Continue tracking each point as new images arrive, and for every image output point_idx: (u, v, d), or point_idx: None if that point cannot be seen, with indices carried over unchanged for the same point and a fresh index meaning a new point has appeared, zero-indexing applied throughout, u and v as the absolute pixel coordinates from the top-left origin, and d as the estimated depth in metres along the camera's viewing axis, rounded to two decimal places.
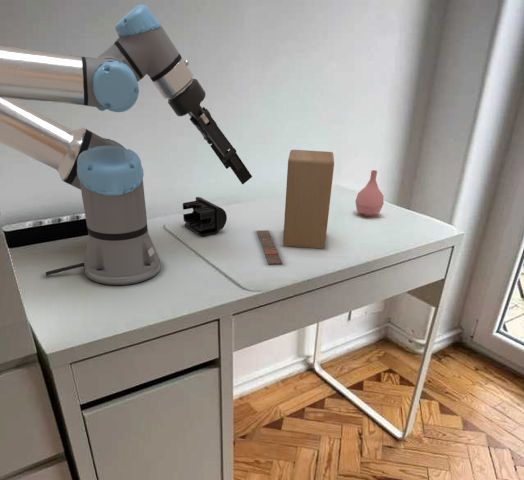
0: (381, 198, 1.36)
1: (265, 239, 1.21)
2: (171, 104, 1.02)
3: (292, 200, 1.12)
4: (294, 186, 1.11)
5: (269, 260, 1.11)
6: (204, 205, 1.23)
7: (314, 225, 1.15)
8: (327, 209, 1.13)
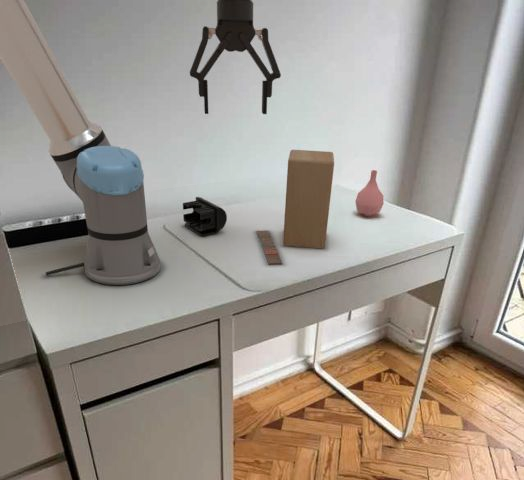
0: (381, 198, 1.36)
1: (265, 239, 1.21)
2: (243, 3, 1.00)
3: (292, 199, 1.12)
4: (294, 185, 1.11)
5: (269, 260, 1.11)
6: (204, 205, 1.23)
7: (314, 225, 1.15)
8: (327, 209, 1.13)
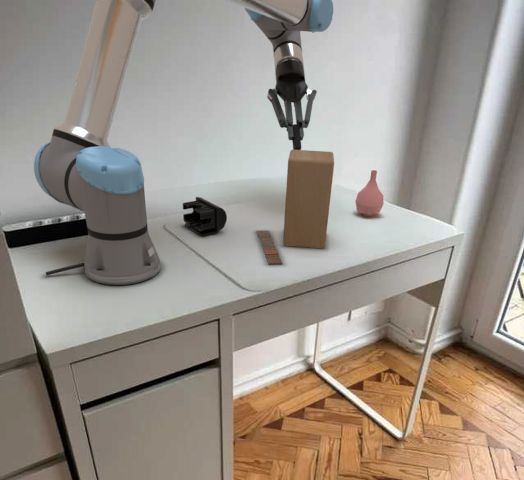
0: (381, 198, 1.36)
1: (265, 239, 1.21)
2: (297, 61, 1.27)
3: (292, 199, 1.12)
4: (294, 185, 1.11)
5: (269, 260, 1.11)
6: (204, 205, 1.23)
7: (314, 225, 1.15)
8: (327, 209, 1.13)
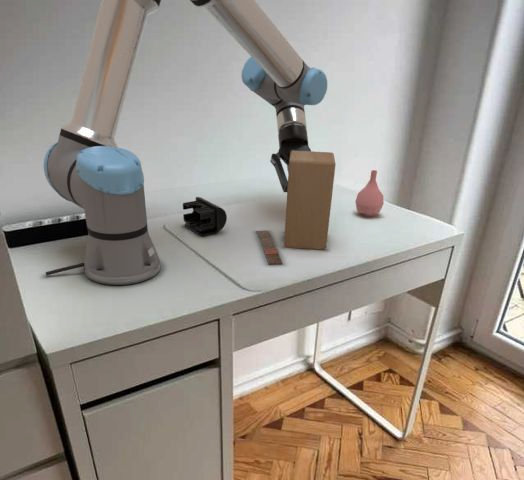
0: (381, 198, 1.36)
1: (265, 239, 1.21)
2: (300, 126, 1.26)
3: (293, 201, 1.12)
4: (296, 187, 1.10)
5: (269, 260, 1.11)
6: (204, 205, 1.23)
7: (316, 226, 1.15)
8: (328, 210, 1.12)
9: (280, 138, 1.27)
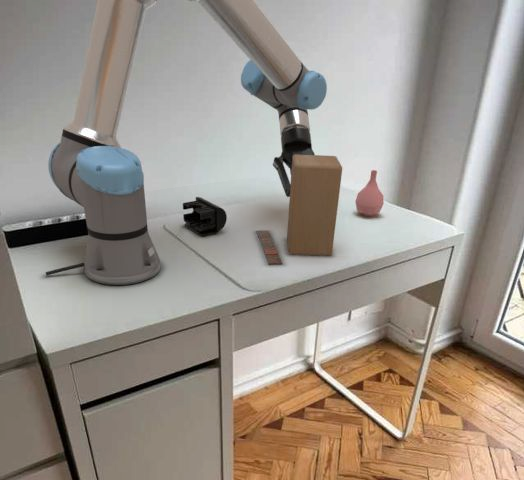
0: (381, 198, 1.36)
1: (265, 239, 1.21)
2: (304, 129, 1.23)
3: (298, 207, 1.08)
4: (301, 192, 1.07)
5: (269, 260, 1.11)
6: (204, 205, 1.23)
7: (322, 232, 1.12)
8: (335, 215, 1.10)
9: (283, 141, 1.24)
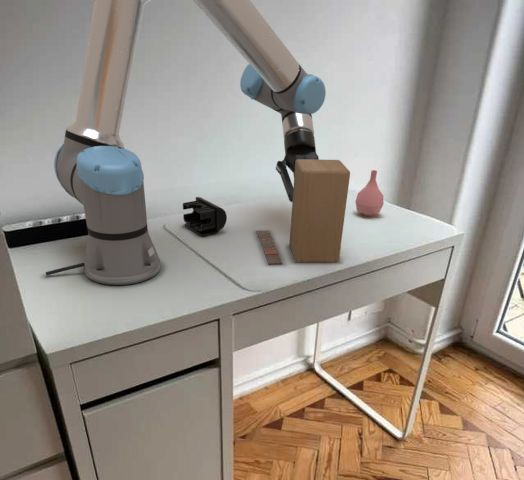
0: (381, 198, 1.36)
1: (265, 239, 1.21)
2: (307, 132, 1.19)
3: (305, 213, 1.05)
4: (309, 198, 1.03)
5: (269, 260, 1.11)
6: (204, 205, 1.23)
7: (329, 238, 1.08)
8: (342, 221, 1.07)
9: (286, 144, 1.21)
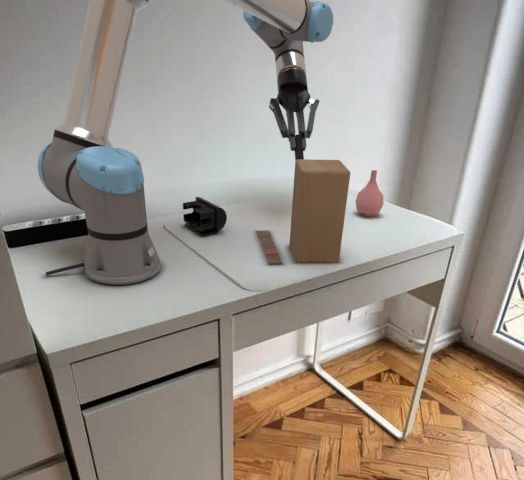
0: (381, 198, 1.36)
1: (265, 239, 1.21)
2: (300, 70, 1.24)
3: (306, 213, 1.05)
4: (309, 198, 1.03)
5: (269, 260, 1.11)
6: (204, 205, 1.23)
7: (329, 238, 1.08)
8: (342, 221, 1.06)
9: (279, 83, 1.25)
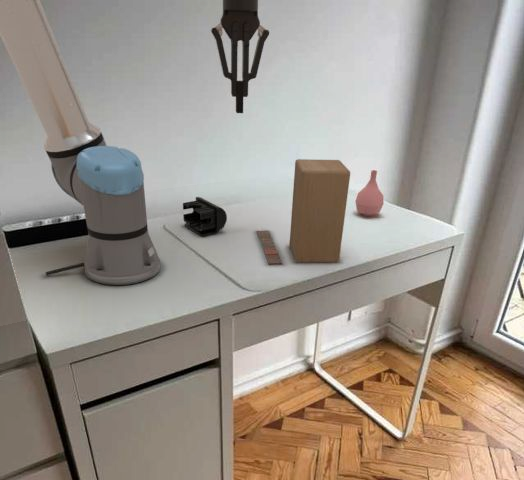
0: (381, 198, 1.36)
1: (265, 239, 1.21)
2: None
3: (306, 213, 1.05)
4: (309, 198, 1.03)
5: (269, 260, 1.11)
6: (204, 205, 1.23)
7: (329, 238, 1.08)
8: (342, 221, 1.06)
9: (224, 3, 1.05)
